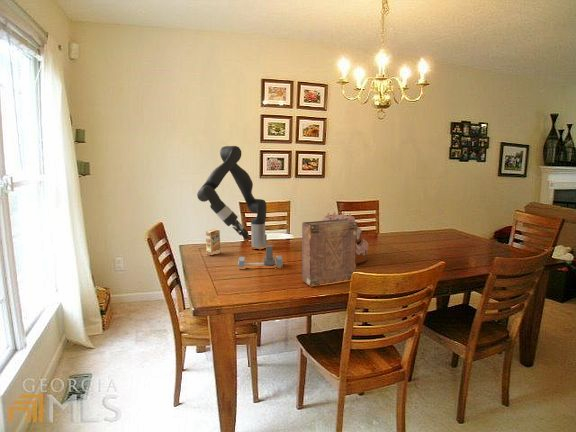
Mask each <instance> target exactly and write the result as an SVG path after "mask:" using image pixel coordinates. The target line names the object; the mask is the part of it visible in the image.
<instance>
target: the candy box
mask: <svg viewBox="0 0 576 432" xmlns="http://www.w3.org/2000/svg"><path fill="white" fill-rule="evenodd" d="M205 243H206V244H205V246H206V252H207V251H208V252H213V251H216V250H219V249H220V250H221V231H220V229H219V228H216V229H215V228H214V229H211V230H207V231H205Z"/></svg>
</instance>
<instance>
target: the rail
mask: <svg viewBox="0 0 576 432" xmlns="http://www.w3.org/2000/svg"><path fill="white" fill-rule="evenodd" d="M245 258H246V257H245V256H239V257H238V260H237V261H238V262H237V264H238V268H239V267H244V266H245V265H264V262H246V261H245ZM276 264H277V267H281V266H282V267H283V264H284V261H283V258H282V255H275V265H276Z"/></svg>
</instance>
